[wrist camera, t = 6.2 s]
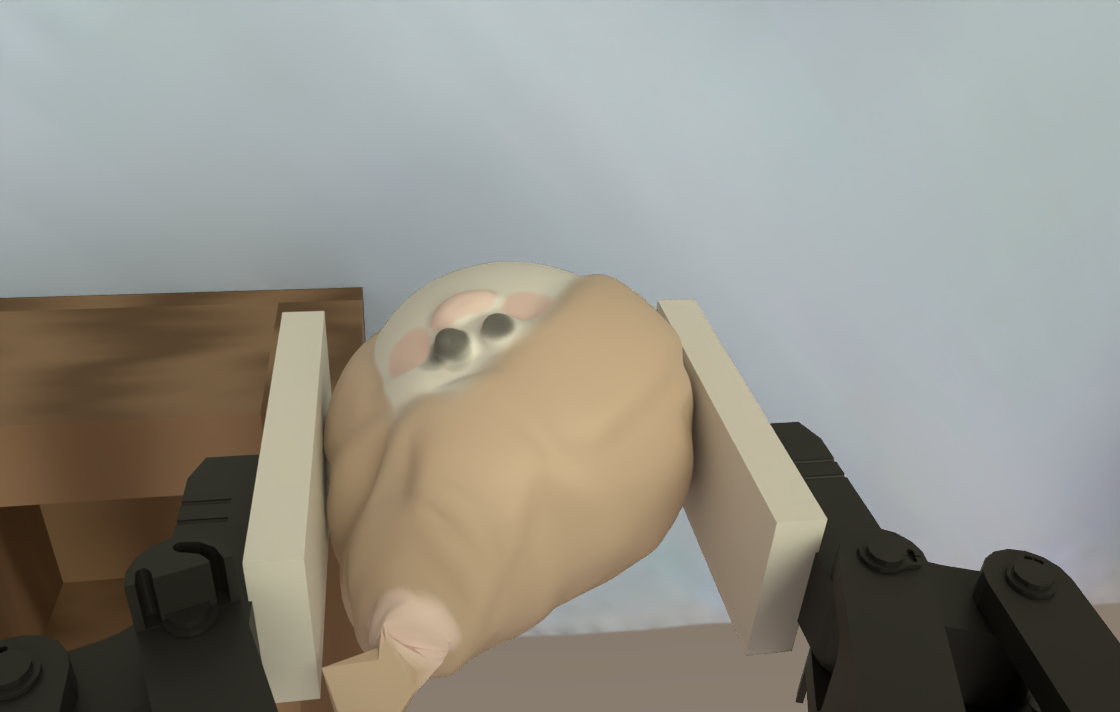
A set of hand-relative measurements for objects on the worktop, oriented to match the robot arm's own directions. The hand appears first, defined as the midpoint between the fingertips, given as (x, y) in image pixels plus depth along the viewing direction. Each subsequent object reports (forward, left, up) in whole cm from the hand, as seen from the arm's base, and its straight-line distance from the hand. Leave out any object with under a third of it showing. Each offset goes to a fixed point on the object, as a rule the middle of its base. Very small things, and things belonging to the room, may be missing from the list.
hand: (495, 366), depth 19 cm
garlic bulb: (0, 0, -1) cm, 1 cm away
